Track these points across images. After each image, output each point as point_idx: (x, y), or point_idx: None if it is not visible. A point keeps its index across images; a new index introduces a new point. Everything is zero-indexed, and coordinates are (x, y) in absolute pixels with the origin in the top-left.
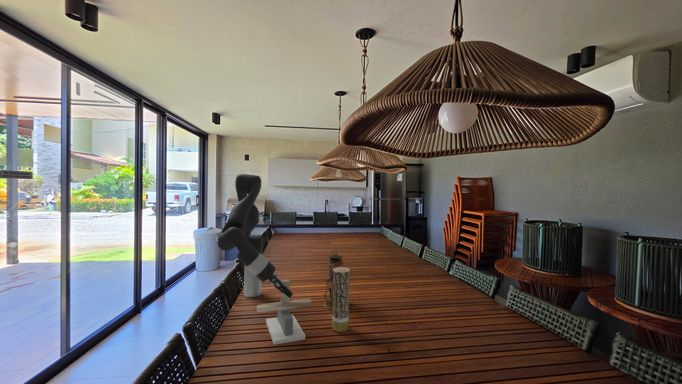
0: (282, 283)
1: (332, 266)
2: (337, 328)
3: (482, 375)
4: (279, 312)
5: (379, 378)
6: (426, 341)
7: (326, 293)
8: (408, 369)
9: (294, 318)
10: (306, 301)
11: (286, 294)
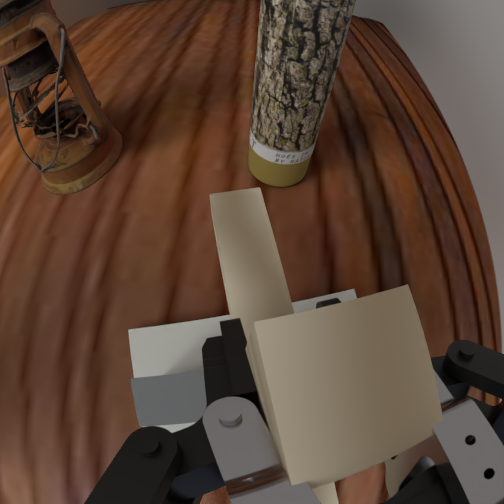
0: (465, 418)
1: (40, 23)
2: (306, 170)
3: (416, 74)
4: None
5: (466, 169)
6: (340, 65)
7: (30, 160)
8: (432, 123)
9: (170, 328)
10: (266, 218)
11: None
